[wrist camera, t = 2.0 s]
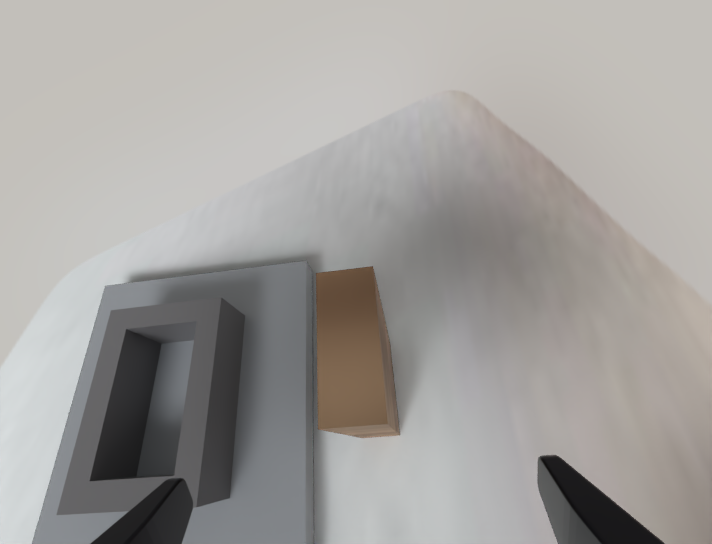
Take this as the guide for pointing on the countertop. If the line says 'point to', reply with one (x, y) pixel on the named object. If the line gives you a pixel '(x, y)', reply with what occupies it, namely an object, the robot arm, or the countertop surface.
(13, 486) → the countertop surface
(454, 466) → the countertop surface
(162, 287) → the grey socket base
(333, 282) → the walnut block
